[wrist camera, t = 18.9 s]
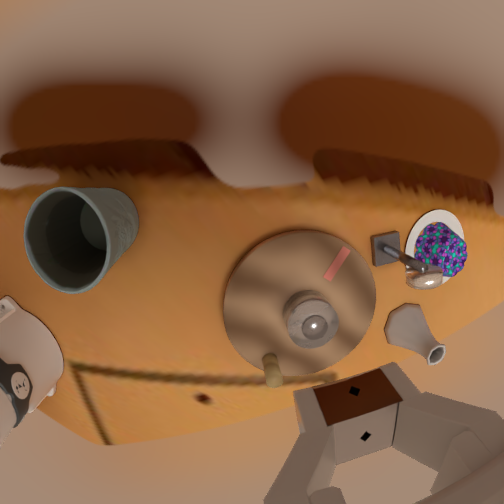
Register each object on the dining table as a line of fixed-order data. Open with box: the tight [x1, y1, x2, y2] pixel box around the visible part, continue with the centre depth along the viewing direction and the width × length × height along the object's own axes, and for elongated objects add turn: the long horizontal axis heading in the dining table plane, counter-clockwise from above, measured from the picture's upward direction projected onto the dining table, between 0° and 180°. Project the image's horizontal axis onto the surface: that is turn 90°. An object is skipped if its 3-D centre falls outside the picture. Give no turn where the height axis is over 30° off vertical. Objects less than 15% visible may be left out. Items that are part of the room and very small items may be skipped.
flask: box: [384, 303, 446, 365], centre depth 39 cm, size 7×7×10 cm
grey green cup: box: [24, 187, 139, 294], centre depth 31 cm, size 10×10×12 cm
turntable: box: [223, 230, 376, 388], centre depth 37 cm, size 20×20×7 cm
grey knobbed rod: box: [371, 231, 443, 289], centre depth 34 cm, size 4×4×12 cm
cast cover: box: [283, 290, 339, 349], centre depth 36 cm, size 6×6×4 cm
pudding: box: [405, 210, 467, 284], centre depth 39 cm, size 12×12×5 cm
